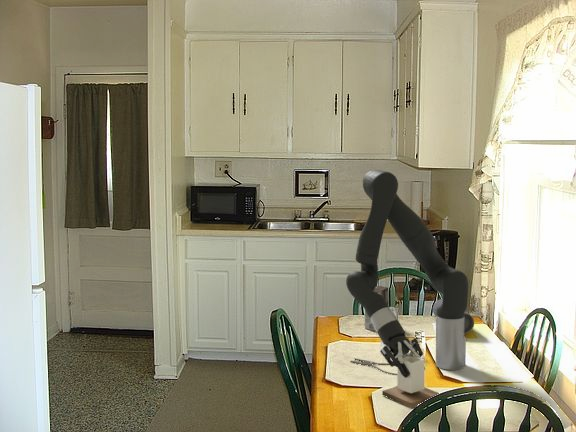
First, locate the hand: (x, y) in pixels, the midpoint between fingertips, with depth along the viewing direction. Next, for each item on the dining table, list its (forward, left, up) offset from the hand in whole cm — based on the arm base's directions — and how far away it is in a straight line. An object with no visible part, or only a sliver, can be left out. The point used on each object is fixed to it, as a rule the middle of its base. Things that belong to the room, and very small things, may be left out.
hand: (415, 373), depth 205 cm
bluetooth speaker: (-64, -40, -8) cm, 76 cm away
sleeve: (0, -2, -5) cm, 5 cm away
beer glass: (-26, -38, -8) cm, 46 cm away
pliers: (-10, -27, -8) cm, 30 cm away
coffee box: (-42, -61, -8) cm, 74 cm away
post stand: (0, -2, -8) cm, 8 cm away
